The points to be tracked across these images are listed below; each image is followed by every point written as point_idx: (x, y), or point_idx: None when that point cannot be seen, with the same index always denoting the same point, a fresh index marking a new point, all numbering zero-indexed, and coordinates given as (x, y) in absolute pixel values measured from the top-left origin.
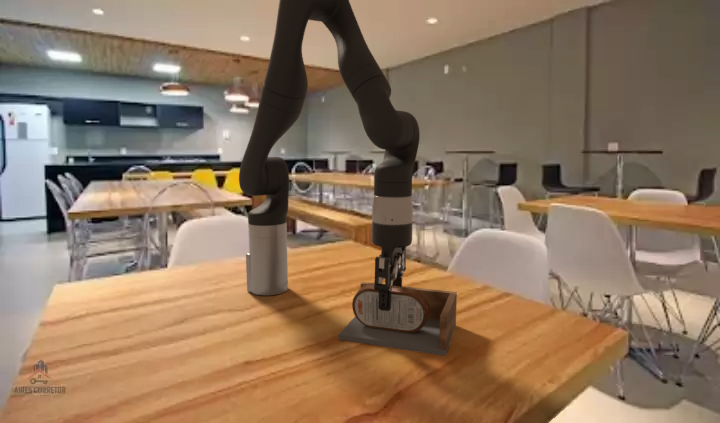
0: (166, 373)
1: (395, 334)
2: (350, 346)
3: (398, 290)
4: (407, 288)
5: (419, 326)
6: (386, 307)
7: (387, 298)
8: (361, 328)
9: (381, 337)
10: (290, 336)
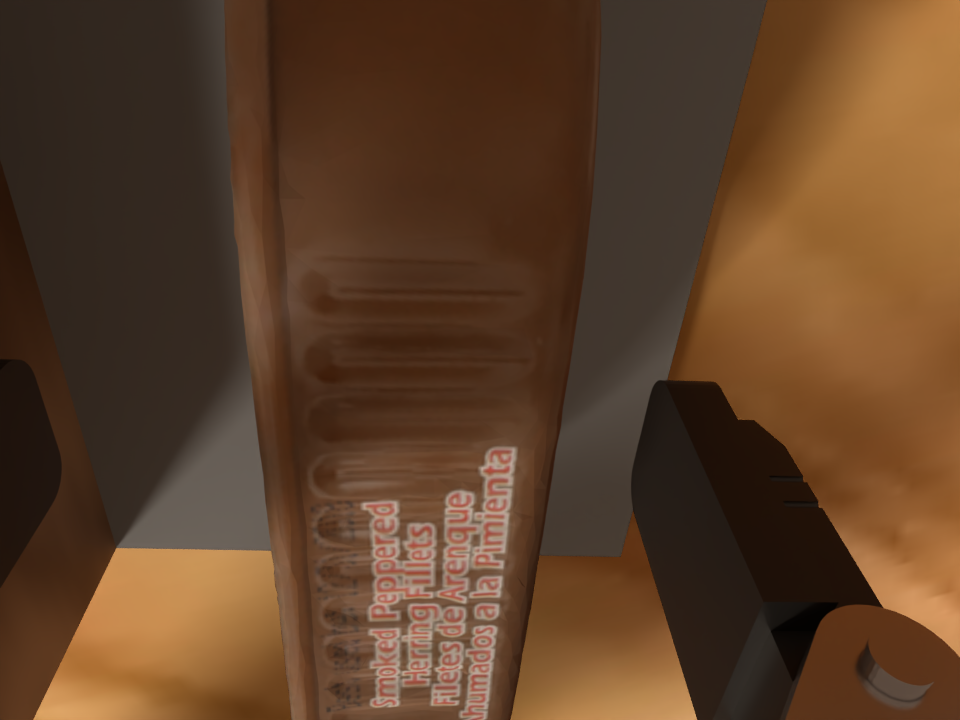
0: None
1: None
2: None
3: (444, 477)
4: (282, 343)
5: None
6: (765, 442)
7: (819, 537)
8: None
9: (626, 283)
10: (614, 714)
